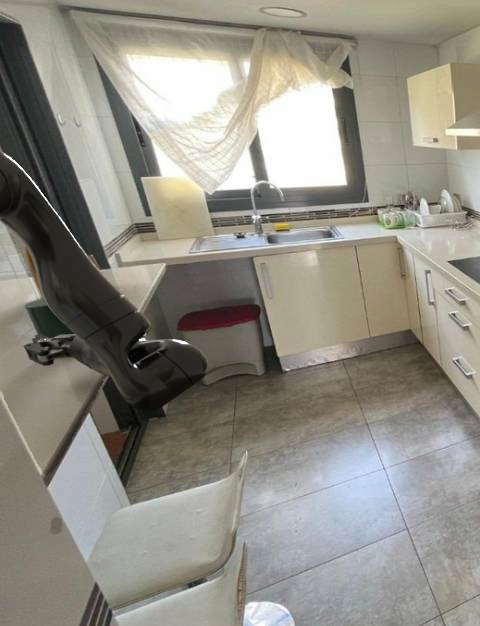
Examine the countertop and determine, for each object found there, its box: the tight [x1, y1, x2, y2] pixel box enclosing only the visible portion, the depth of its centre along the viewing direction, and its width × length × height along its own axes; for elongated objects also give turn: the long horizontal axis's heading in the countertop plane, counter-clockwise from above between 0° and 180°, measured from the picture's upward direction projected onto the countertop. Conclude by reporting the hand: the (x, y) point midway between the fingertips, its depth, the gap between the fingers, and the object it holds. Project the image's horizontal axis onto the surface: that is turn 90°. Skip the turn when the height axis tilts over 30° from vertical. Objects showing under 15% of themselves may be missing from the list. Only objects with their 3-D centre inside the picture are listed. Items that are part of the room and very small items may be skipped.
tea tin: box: [24, 298, 75, 349], centre depth 86 cm, size 5×5×10 cm
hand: (72, 330), depth 82 cm, fingers open, 8 cm apart
